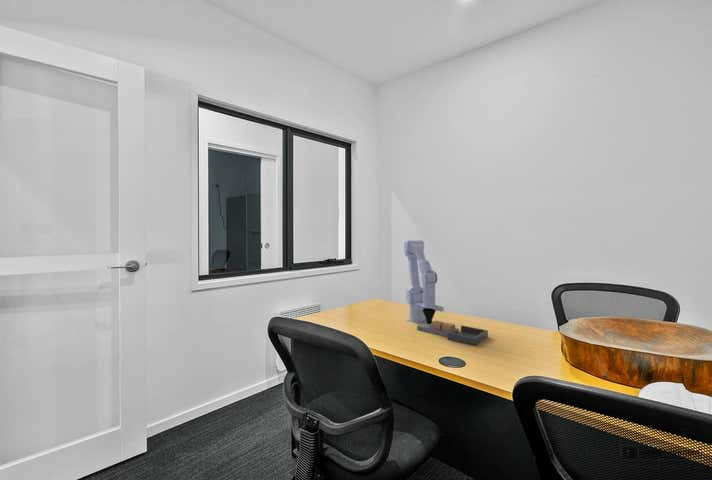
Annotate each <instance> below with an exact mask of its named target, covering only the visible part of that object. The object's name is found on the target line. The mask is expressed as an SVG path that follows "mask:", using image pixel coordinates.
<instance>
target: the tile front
mask: <svg viewBox="0 0 712 480" xmlns="http://www.w3.org/2000/svg"><path fill="white" fill-rule="evenodd" d="M455 328H456V324H454V323H451V322H450V323H449V322H444V324H442V330H445V331H449V332H451V331H453V330H455Z"/></svg>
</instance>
